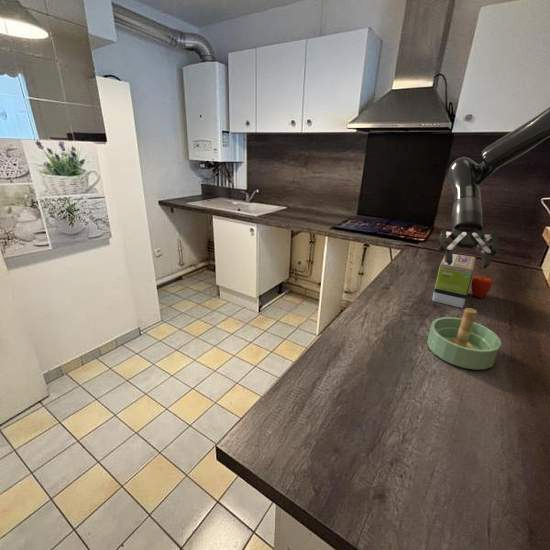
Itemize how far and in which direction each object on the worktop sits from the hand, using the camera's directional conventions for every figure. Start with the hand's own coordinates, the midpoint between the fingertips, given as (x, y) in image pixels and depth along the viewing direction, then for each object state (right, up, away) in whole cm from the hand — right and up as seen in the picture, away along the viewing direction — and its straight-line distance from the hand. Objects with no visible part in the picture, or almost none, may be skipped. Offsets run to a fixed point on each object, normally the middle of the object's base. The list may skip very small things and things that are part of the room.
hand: (467, 265), depth 81 cm
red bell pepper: (+23, -11, +29) cm, 38 cm away
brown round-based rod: (-4, -23, -2) cm, 23 cm away
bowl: (-4, -23, -2) cm, 24 cm away
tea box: (+11, -11, +27) cm, 32 cm away
